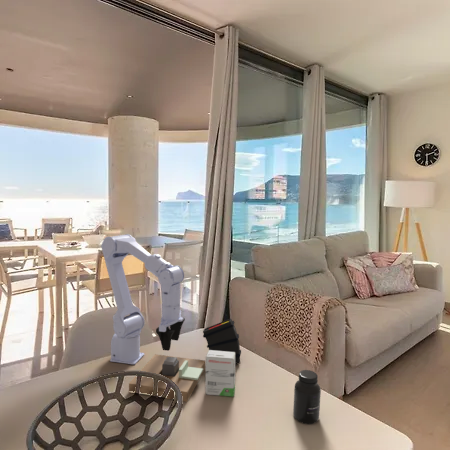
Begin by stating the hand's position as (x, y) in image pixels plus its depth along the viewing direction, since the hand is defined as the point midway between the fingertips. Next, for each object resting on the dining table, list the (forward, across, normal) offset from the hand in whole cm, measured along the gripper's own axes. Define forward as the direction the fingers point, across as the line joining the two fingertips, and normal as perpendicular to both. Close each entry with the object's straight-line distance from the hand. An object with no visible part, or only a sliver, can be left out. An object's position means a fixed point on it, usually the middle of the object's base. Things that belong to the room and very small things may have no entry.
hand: (170, 344), depth 113 cm
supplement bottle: (+10, -11, -43) cm, 46 cm away
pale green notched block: (+7, -4, -8) cm, 11 cm away
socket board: (+10, -4, -1) cm, 11 cm away
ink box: (+10, -6, -18) cm, 22 cm away
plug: (+10, -4, -2) cm, 11 cm away
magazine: (+10, +13, -14) cm, 22 cm away
